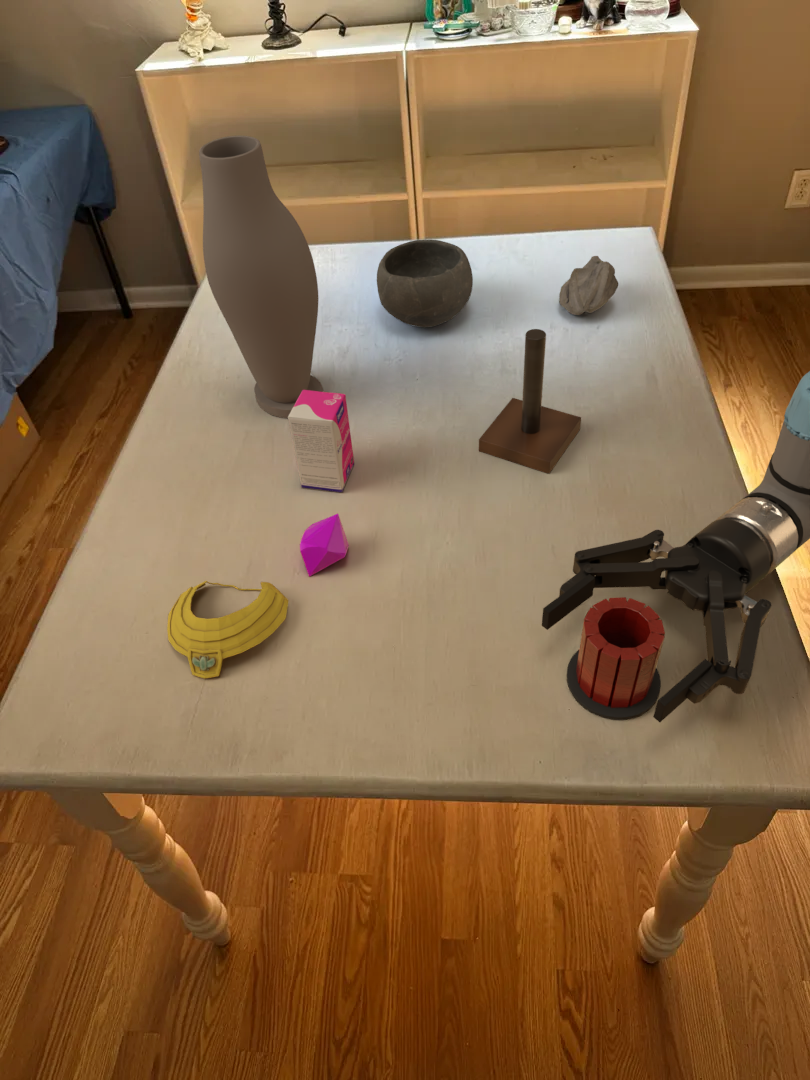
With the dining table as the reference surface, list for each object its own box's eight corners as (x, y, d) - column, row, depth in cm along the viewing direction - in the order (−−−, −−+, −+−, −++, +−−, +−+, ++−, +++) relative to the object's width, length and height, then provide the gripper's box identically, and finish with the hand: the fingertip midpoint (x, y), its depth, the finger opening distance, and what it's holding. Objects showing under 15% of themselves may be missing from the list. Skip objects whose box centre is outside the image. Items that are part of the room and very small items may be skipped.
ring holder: (580, 429, 104) (592, 322, 93) (549, 474, 99) (557, 366, 87) (512, 409, 108) (515, 304, 97) (478, 451, 103) (478, 345, 91)
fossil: (555, 290, 129) (559, 243, 124) (611, 288, 128) (617, 241, 123) (560, 326, 122) (564, 279, 116) (619, 325, 121) (626, 277, 115)
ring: (660, 664, 78) (675, 614, 72) (635, 719, 74) (648, 671, 68) (593, 636, 81) (601, 586, 75) (565, 688, 77) (572, 640, 71)
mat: (672, 664, 78) (673, 661, 78) (641, 735, 73) (642, 732, 73) (587, 630, 82) (587, 627, 82) (551, 695, 77) (552, 692, 76)
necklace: (149, 615, 88) (138, 591, 84) (247, 560, 92) (239, 535, 89) (202, 689, 80) (191, 666, 77) (304, 625, 85) (298, 600, 82)
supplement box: (344, 493, 99) (331, 421, 91) (300, 488, 100) (283, 417, 92) (357, 463, 103) (345, 391, 95) (314, 459, 104) (299, 388, 96)
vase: (349, 384, 115) (312, 131, 90) (302, 436, 108) (247, 176, 82) (275, 365, 120) (219, 120, 95) (225, 414, 112) (150, 162, 87)
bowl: (459, 346, 120) (457, 286, 113) (368, 336, 124) (361, 277, 117) (482, 297, 129) (482, 239, 122) (397, 289, 133) (392, 232, 126)
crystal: (304, 544, 93) (297, 517, 90) (349, 539, 93) (344, 511, 90) (304, 577, 90) (298, 550, 86) (351, 571, 90) (346, 544, 87)
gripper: (647, 462, 85) (505, 561, 76) (869, 594, 71) (724, 733, 62) (637, 512, 90) (503, 609, 82) (842, 643, 76) (705, 777, 68)
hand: (598, 663), depth 72 cm, fingers open, 13 cm apart
